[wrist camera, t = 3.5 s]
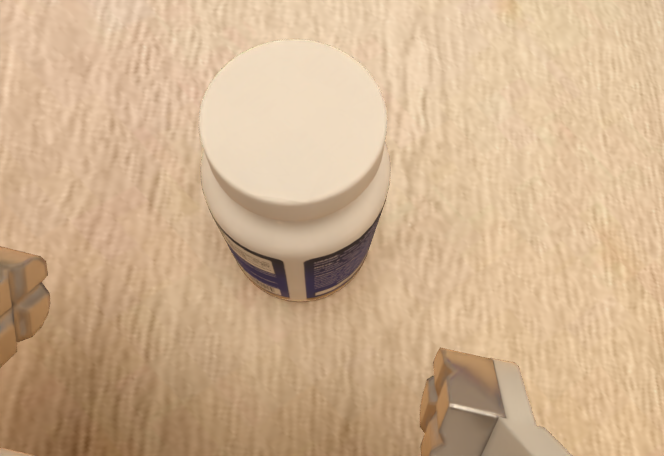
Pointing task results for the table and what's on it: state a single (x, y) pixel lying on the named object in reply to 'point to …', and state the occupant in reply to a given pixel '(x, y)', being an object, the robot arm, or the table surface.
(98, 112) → the table surface
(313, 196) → the pill bottle
